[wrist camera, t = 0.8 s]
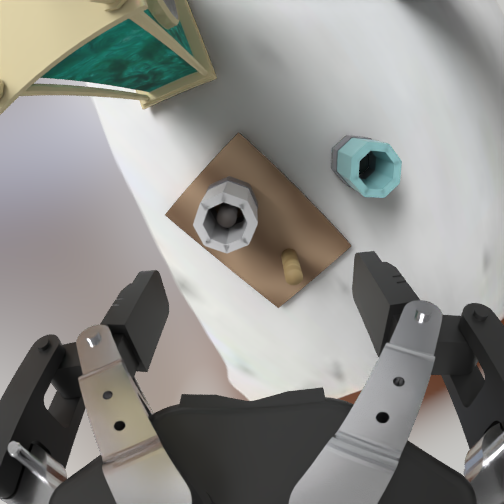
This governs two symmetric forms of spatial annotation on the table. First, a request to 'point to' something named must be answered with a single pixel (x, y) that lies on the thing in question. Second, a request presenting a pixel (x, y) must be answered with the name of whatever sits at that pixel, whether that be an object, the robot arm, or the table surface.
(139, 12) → the carriage clock
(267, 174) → the brown peg stand
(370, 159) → the teal sleeve
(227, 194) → the grey sleeve
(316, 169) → the table surface
